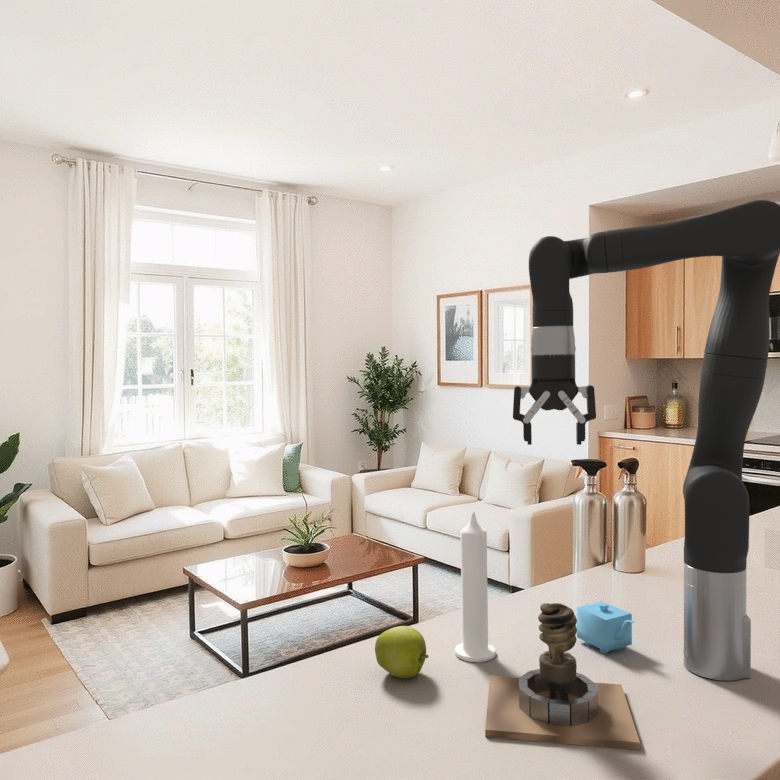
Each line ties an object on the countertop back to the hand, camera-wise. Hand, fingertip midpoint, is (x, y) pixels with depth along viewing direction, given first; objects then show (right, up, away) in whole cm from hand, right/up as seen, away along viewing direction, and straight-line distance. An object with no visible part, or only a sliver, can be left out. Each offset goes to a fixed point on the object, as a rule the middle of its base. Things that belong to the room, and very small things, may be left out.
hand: (553, 444), depth 119 cm
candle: (-14, -37, -2) cm, 39 cm away
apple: (-27, -37, -9) cm, 47 cm away
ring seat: (-5, -37, -22) cm, 43 cm away
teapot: (+10, -36, 0) cm, 37 cm away
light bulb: (-5, -36, -22) cm, 43 cm away
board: (-5, -37, -22) cm, 43 cm away
